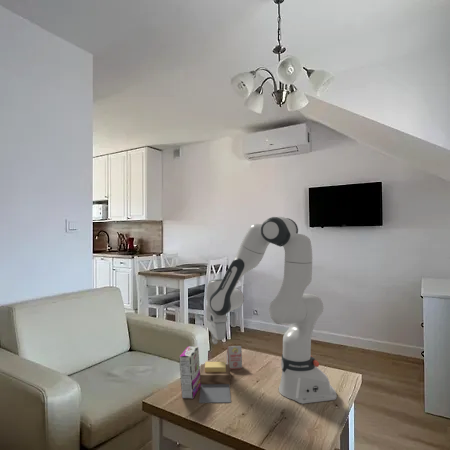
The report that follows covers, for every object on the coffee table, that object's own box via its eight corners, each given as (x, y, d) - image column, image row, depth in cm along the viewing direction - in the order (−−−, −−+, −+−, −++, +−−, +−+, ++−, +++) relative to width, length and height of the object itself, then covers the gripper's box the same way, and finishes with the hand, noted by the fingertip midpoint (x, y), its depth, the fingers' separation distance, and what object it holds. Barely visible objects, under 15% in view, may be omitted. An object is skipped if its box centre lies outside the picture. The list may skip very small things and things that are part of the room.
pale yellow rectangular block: (225, 366, 146) (225, 361, 146) (225, 371, 140) (225, 367, 140) (205, 366, 146) (205, 361, 146) (204, 372, 140) (204, 367, 140)
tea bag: (226, 366, 156) (226, 345, 156) (240, 365, 157) (240, 344, 157) (227, 369, 153) (227, 348, 153) (241, 368, 154) (242, 347, 154)
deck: (229, 373, 148) (229, 364, 148) (230, 384, 137) (230, 375, 137) (201, 373, 148) (201, 364, 148) (199, 384, 137) (199, 375, 137)
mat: (229, 384, 137) (229, 384, 137) (230, 402, 123) (230, 402, 123) (200, 385, 137) (200, 384, 137) (199, 403, 122) (199, 402, 122)
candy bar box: (189, 385, 136) (187, 345, 137) (201, 385, 135) (199, 346, 136) (180, 398, 125) (178, 355, 126) (193, 399, 124) (190, 356, 125)
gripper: (203, 308, 162) (202, 336, 162) (214, 320, 142) (214, 351, 142) (215, 307, 164) (214, 335, 164) (228, 319, 144) (227, 350, 144)
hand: (214, 342), depth 153 cm, fingers closed
